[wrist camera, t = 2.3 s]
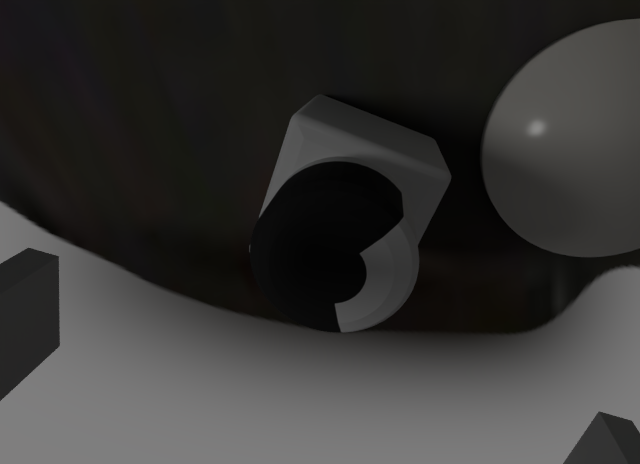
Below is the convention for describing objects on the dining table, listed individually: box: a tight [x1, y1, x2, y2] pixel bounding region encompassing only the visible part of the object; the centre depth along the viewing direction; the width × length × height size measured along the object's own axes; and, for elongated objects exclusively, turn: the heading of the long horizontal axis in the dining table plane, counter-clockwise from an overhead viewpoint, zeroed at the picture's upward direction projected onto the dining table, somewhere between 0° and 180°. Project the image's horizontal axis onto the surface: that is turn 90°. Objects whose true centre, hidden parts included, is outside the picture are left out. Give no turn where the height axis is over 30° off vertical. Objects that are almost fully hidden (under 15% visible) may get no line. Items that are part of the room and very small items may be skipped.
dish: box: [480, 19, 640, 257], centre depth 23 cm, size 12×12×1 cm
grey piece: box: [249, 95, 451, 332], centre depth 21 cm, size 7×7×12 cm
